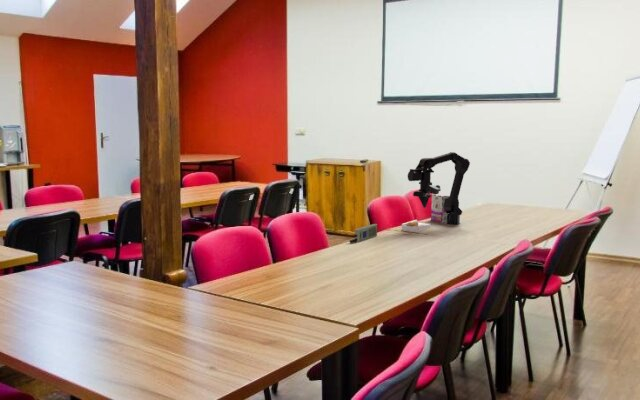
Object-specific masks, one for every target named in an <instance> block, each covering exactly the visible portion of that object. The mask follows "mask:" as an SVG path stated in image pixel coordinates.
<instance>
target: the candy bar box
mask: <svg viewBox="0 0 640 400" xmlns="http://www.w3.org/2000/svg"><path fill="white" fill-rule="evenodd" d="M431 195H432V196H431V204H430V205H431V209H430V221H433V222H437V223H442V224H443V223H447V216H448V214H449V213H446V210H445V208H444V202H445V198H448V197H449V196H450V195H445V194H439V193H438V194H433V193H431Z"/></svg>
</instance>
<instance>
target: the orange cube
mask: <svg viewBox="0 0 640 400" xmlns="http://www.w3.org/2000/svg"><path fill="white" fill-rule="evenodd" d="M407 222H408V225H413V226H418V223H419V221H418V222H410V221H407Z"/></svg>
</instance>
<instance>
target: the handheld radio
mask: <svg viewBox="0 0 640 400" xmlns="http://www.w3.org/2000/svg"><path fill="white" fill-rule="evenodd" d="M377 236H378V224H377V223H372V224H369V225H365V226H362V227H358V228H355V229H354V239H350V240H349V243H350V244H352V243H354V242H355V241H356V242H357V243H359V242H363V241H366V240H369V239H373V238H375V237H377Z"/></svg>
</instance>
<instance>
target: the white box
mask: <svg viewBox="0 0 640 400" xmlns="http://www.w3.org/2000/svg"><path fill="white" fill-rule="evenodd" d="M408 222H418V226H413V225H408ZM430 224H431V223H426V224H425V222H424V223H423V222H419V221H418V219H415V220H410V221H407V222H404V223H401V231H403V230H404V231H405V232H411V233H420V232H422V231H423V230H425V229H427V228H431V226H430ZM404 231H403V232H404Z"/></svg>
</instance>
